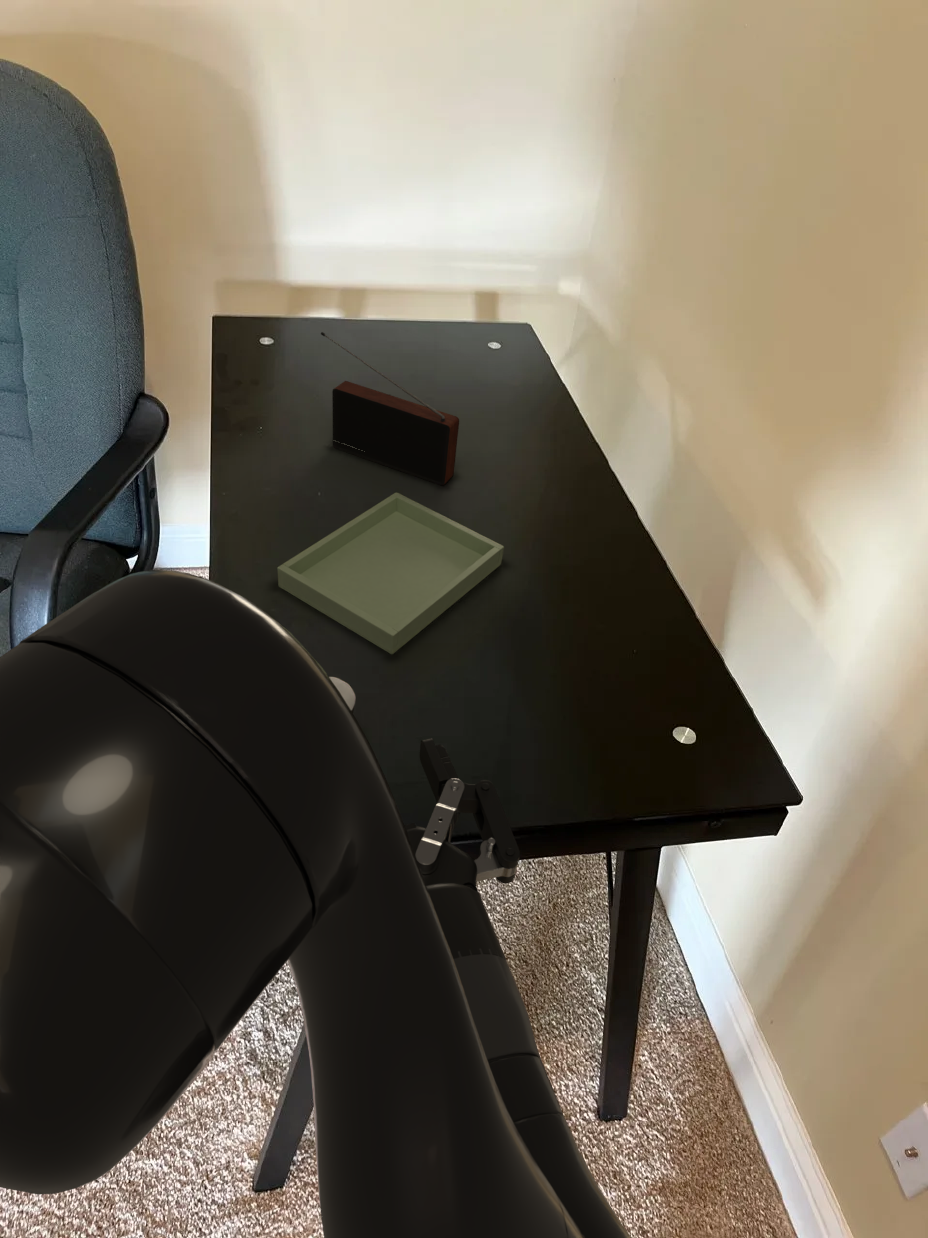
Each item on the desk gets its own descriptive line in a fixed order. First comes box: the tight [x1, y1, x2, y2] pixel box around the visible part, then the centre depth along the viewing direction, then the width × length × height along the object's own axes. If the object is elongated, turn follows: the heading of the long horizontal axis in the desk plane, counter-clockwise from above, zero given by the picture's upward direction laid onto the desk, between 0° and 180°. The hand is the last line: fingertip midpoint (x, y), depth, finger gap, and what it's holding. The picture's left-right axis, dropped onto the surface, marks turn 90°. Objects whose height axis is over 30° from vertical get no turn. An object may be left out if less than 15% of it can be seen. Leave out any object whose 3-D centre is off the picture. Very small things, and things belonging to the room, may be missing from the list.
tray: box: [276, 492, 505, 655], centre depth 90 cm, size 20×16×3 cm
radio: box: [320, 331, 460, 486], centre depth 104 cm, size 19×3×15 cm, turn 65°
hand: (362, 760), depth 54 cm, fingers open, 8 cm apart
